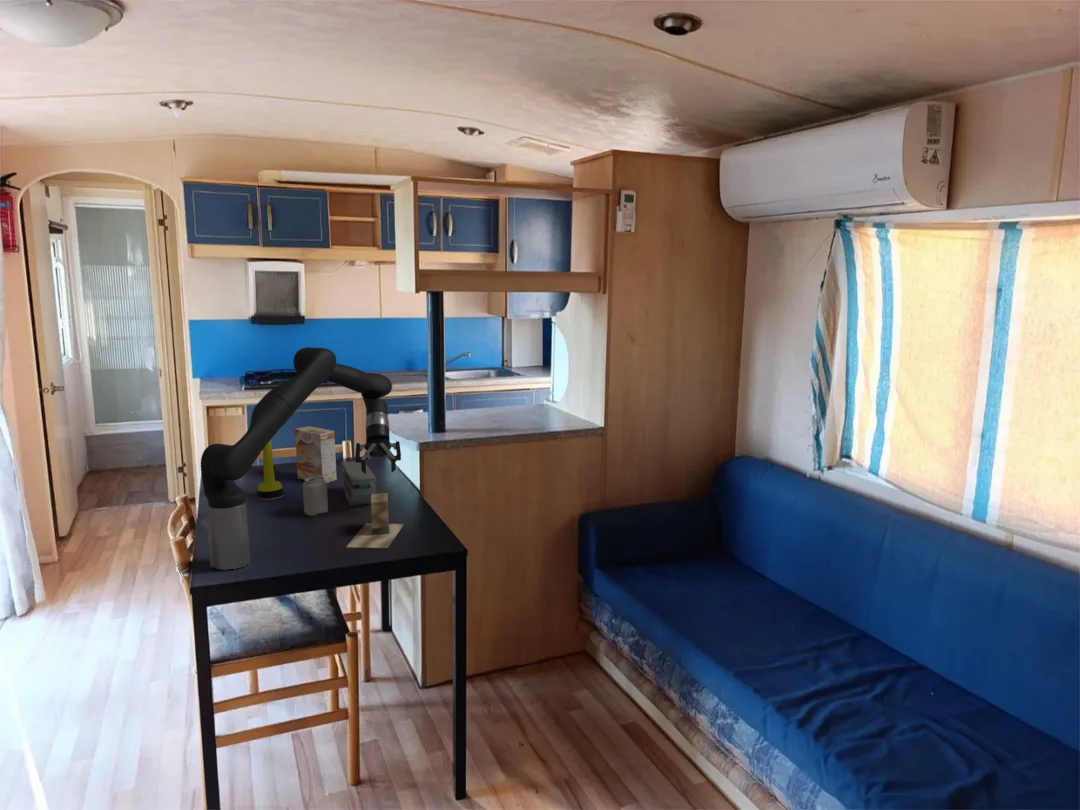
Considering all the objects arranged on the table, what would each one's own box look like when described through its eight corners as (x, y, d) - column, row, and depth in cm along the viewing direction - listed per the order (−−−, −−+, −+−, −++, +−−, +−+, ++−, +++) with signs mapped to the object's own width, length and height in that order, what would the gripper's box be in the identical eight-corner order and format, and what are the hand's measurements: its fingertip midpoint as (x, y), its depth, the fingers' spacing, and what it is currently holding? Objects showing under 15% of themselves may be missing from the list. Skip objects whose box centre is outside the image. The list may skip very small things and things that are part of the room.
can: (318, 508, 246) (316, 474, 244) (333, 512, 242) (331, 477, 240) (299, 514, 240) (297, 479, 238) (314, 518, 236) (312, 482, 234)
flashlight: (262, 430, 249) (284, 426, 257) (246, 427, 254) (268, 423, 262) (267, 501, 254) (289, 495, 261) (251, 497, 259) (273, 490, 266)
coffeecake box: (296, 478, 282) (293, 428, 279) (312, 474, 288) (309, 425, 285) (322, 484, 274) (319, 433, 270) (337, 480, 280) (334, 430, 276)
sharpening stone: (343, 491, 265) (341, 462, 263) (365, 489, 268) (363, 460, 266) (353, 512, 242) (352, 480, 241) (377, 509, 245) (376, 478, 244)
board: (346, 551, 209) (345, 547, 208) (366, 527, 228) (365, 523, 228) (387, 551, 208) (387, 547, 208) (404, 527, 228) (404, 524, 227)
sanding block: (372, 534, 218) (370, 502, 216) (372, 524, 227) (371, 493, 225) (389, 533, 219) (388, 501, 217) (388, 523, 228) (387, 492, 226)
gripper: (354, 423, 236) (354, 467, 227) (399, 421, 239) (401, 464, 230) (355, 436, 242) (356, 479, 233) (399, 434, 245) (401, 476, 236)
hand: (378, 471), depth 231 cm, fingers open, 8 cm apart
